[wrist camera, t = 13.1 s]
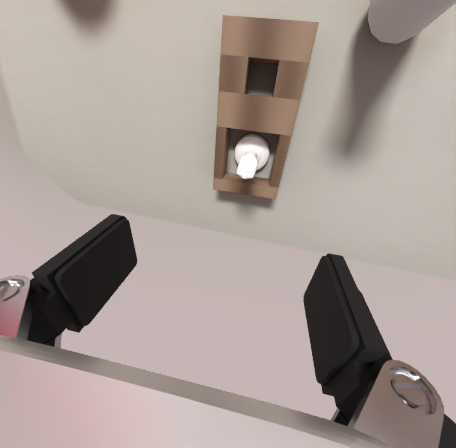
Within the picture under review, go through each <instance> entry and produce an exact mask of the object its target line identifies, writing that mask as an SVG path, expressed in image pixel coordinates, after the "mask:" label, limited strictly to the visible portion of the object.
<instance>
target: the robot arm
mask: <svg viewBox="0 0 456 448" xmlns="http://www.w3.org/2000/svg"><path fill="white" fill-rule="evenodd" d="M136 264H137V257H136V252H135V248H134V242H133V237H132V233H131V228H130V223H129V221H128V220H127V219H126V217H124V216H120V215H115V214H112V215H110V216H108V217H107V218H106V219H104V220H103V221H102V222H100V223H99V224H97V225H96V226H95V227H93V228H92V229H91V230H89V231H88V232H87V233H85V234H84V235H83V236H81V237H80V238H78V239H77V240H76V241H74V242H73V243H72V244H70V245H69V246H68V247H66V248H65V249H63V250H62V251H61V252H59V253H58V254H57V255H55V256H54V257H53V258H51V259H50V260H48V261H47V262H46V263H44V264H43V265H42V266H40V267H39V268H38V269H36V270H35V271H34V272H32V274H33V276H34V278H33V279H32V280H30V279H29V278H27V277H25V276H17V275H16V276H10V277H6V278H3V279H0V448H456V424H455V423H454V422H453V421H452V420H451V419H450V418H449V417H448V416H446V415H445V414H444V406H443V404H442V401H441V398H440V396H439V394H438V393H437V391H436V390H435V388H434V387H433V386H432V384H431V383H430V382H429V381H428V380H427V379H426V378H425V377H424V376H423V375H422V374H421V373H420V372H419V371H418V370H416V369H415V368H413V367H411V366H410V365H408V364H406V363H404V362H401V361H398V360H392V358H391V355H390V353H389V351H388V349H387V347H386V345H385V343H384V340H383V338H382V336H381V334H380V332H379V330H378V327H377V325H376V323H375V321H374V319H373V317H372V314H371V313H370V310H369V308H368V306H367V304H366V302H365V299H364V297H363V295H362V293H361V292H360V291H359V290H358V288H357V286H356V284H355V282H354V279H353V277H352V275H351V273H350V271H349V268H348V266H347V264H346V262H345V260H344V258H343V256H339V255H334V254H327V255H326V256H323V257H322V258H321V260H320V262H319V264H318V266H317V268H316V270H315V272H314V275H313V277H312V279H311V281H310V283H309V285H308V288H307V290H306V292H305V294H304V307H305V313H306V319H307V325H308V331H309V337H310V343H311V350H312V356H313V362H314V367H315V374H316V379H317V382H318V383H320V384H321V386H322V391H323V394H327V395H331V396H334V398H335V403H336V406H337V410H336V412H335V414H334V415H333V417H332V419H331V421H330V420H327V419H324V418H320V417H317V416H313V415H310V414H306V413H303V412H299V411H296V410H292V409H289V408H285V407H282V406H279V405H275V404H271V403H267V402H264V401H260V400H256V399H252V398H249V397H245V396H241V395H237V394H234V393H230V392H226V391H222V390H218V389H215V388H211V387H207V386H203V385H199V384H196V383H192V382H188V381H184V380H181V379H176V378H173V377H169V376H165V375H162V374H158V373H154V372H150V371H146V370H142V369H138V368H134V367H131V366H127V365H123V364H119V363H115V362H111V361H107V360H104V359H99V358H96V357H92V356H88V355H84V354H80V353H76V352H72V351H68V350H64V349H61V348H60V347H61V335H62V332H63V331H64V330H65V329H66V328H67V329H68V330H71V331H75V332H80V331H81V329H82V328H83V327H84V326H86V325H88V324H89V323H90V322H91V321H92V320H93V319H94V317H95V316H96V315H97V314H98V312H99V311H100V310H101V309H102V307H103V306H104V305H105V303H106V302H107V301H108V300H109V299H110V297H111V296H112V295H113V293H114V292H115V291H116V290H117V289H118V287H119V286H120V285H121V283H122V282H123V281H124V280H125V278H126V277H127V276H128V275H129V273H130V272H131V271H132V270H133V268H134V267H135V266H136Z"/></svg>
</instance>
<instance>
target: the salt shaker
mask: <svg viewBox="0 0 456 448" xmlns="http://www.w3.org/2000/svg"><path fill="white" fill-rule="evenodd" d="M455 3H456V0H370V6H369V12H368V22H369V26H370V31H371V34H372V35H374V36H375V37H376V38H377V39H378V40H379V41H380V42H386V43H394V44H398V43H400V42H402V41H405V40H407V39H409V38H412V37H414V36H416V35H417V34H418V33H419V32H420V31H422V30H423V29H424V28H425V27H426V26H428V25H429V24H430V23H431V22H432V21H434V20H435V19H436V18H437V17H439V16H440V15H441V14H442V13H444V12H445V11H446V10H447V9H449V8H450V7H451V6H452V5H454V4H455Z"/></svg>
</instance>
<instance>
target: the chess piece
mask: <svg viewBox="0 0 456 448" xmlns="http://www.w3.org/2000/svg"><path fill="white" fill-rule="evenodd" d="M269 155H270V149H269V146H268V143H267V142H266V140H265V139H264V138H262V137H261V136H259V135H255V134H250V135H246V136H244V137H243V138H241V139H240V140H239V141H238V143H237V145H236V147H235V160H236V162H237V164H238V169H237V174H238V175H239V176H240V177H242V178H244V179H250V178H253V176H254V175H255V172H256V170H259V169H261V168H262V167H263V166H264V165H265V164H266V162H267V161H268V159H269Z"/></svg>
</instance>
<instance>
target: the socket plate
mask: <svg viewBox="0 0 456 448" xmlns="http://www.w3.org/2000/svg"><path fill="white" fill-rule="evenodd" d="M318 24H319V22H307V21H293V20H280V19H266V18H252V17H239V16H225V15H223V23H222V41H221V59H220V76H219V94H218V112H217V129H216V147H215V165H214V182H213V189H215V190H221V191H227V192H233V193H240V194H246V195H252V196H259V197H265V198H271V199H276V195H277V191H278V187H279V183H280V179H281V174H282V170H283V166H284V162H285V158H286V154H287V150H288V146H289V142H290V138H291V134H292V130H293V126H294V122H295V118H296V113H297V109H298V105H299V101H300V97H301V93H302V89H303V85H304V81H305V77H306V73H307V69H308V65H309V61H310V57H311V52H312V48H313V44H314V40H315V36H316V32H317V28H318ZM251 61H252V62H263V63H273V64H279V65H278V70H277V76H276V81H275V87H274V92H273V97H267V96H258V95H249V94H247V88H248V79H249V71H250V63H251ZM230 128H234V129H242V130H249V131H257V132H265V133H273V134H279V137H278V141H277V146H276V151H275V155H274V160H273V165H272V169H271V174H270V179H265V178H259V177H253V178H250V179H244V178H242V177H240V176H239V175H238V174H232V173H226V167H227V156H228V145H229V134H230Z"/></svg>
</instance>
